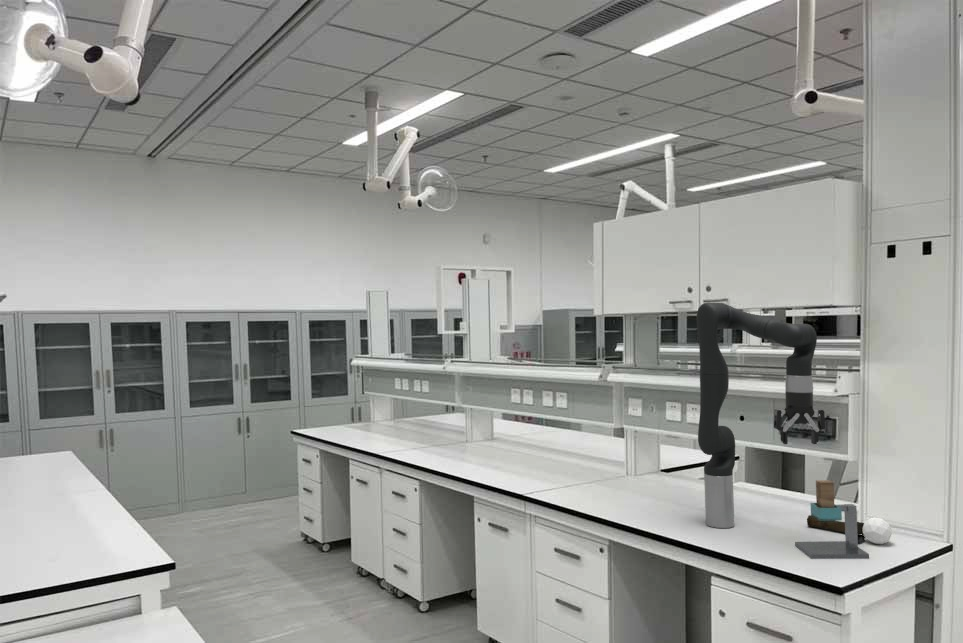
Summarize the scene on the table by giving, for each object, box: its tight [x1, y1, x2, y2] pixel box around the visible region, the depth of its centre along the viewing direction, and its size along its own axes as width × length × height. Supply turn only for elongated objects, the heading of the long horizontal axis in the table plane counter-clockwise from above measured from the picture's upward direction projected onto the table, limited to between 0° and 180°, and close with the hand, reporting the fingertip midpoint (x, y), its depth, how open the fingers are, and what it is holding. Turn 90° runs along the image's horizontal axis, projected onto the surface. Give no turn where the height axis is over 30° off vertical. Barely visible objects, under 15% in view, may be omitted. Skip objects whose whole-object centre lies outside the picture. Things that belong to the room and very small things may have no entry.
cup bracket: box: [794, 502, 870, 560], centre depth 201 cm, size 12×16×14 cm
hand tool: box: [806, 514, 865, 535], centre depth 219 cm, size 19×4×5 cm, turn 37°
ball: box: [862, 517, 893, 545], centre depth 208 cm, size 8×8×8 cm
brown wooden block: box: [815, 479, 835, 508], centre depth 201 cm, size 4×4×10 cm
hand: (799, 443), depth 205 cm, fingers open, 8 cm apart
